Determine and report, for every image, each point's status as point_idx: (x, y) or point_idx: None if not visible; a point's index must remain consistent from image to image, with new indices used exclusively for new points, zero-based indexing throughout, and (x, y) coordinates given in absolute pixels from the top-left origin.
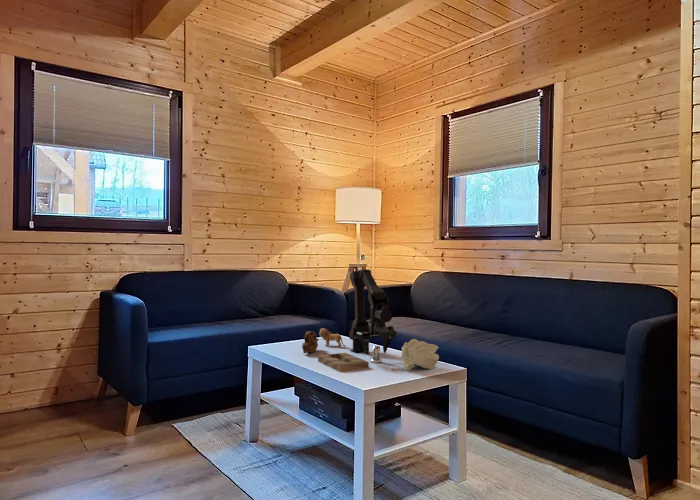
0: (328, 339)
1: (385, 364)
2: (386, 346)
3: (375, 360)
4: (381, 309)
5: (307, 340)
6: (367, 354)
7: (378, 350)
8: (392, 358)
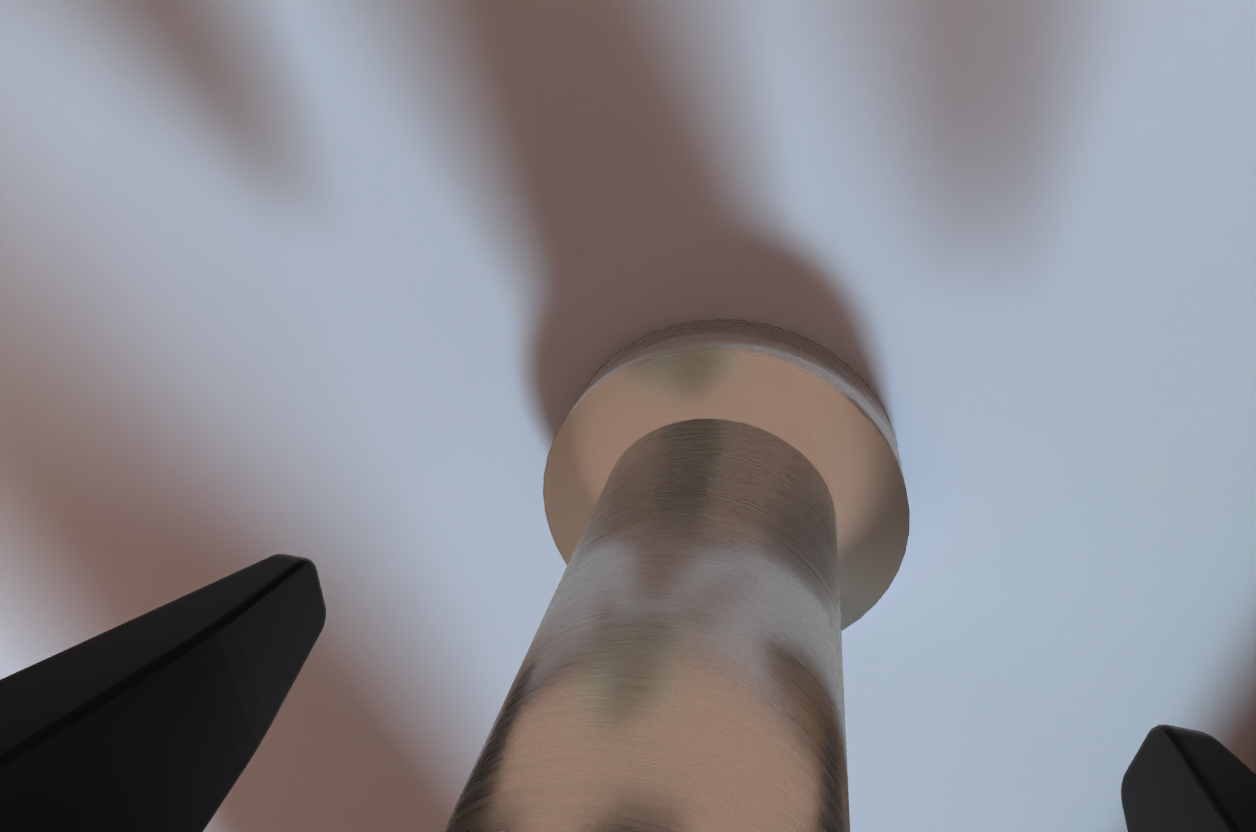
0: None
1: (652, 73)
2: (13, 745)
3: (834, 436)
4: None
5: None
6: (1215, 755)
7: (648, 687)
8: (167, 509)
